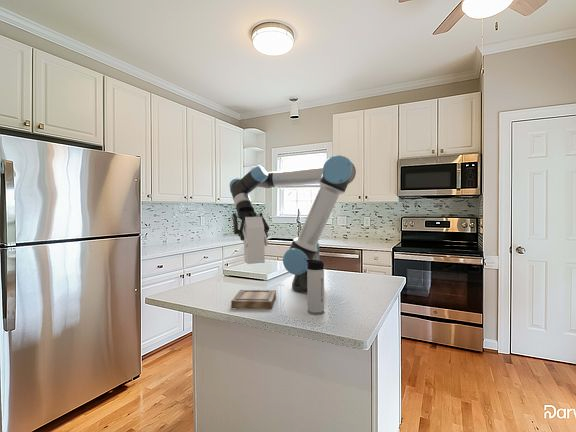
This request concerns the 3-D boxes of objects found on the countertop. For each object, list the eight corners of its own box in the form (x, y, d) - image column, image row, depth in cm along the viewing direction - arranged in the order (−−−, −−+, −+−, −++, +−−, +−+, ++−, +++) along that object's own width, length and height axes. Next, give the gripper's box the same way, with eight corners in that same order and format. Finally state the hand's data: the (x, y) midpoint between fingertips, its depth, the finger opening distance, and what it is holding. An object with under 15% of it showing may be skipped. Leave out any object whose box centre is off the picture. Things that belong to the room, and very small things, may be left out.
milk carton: (264, 263, 126) (264, 217, 126) (247, 264, 124) (246, 217, 123) (260, 260, 133) (260, 216, 132) (244, 261, 131) (243, 216, 130)
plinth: (275, 296, 136) (275, 289, 136) (271, 309, 120) (271, 300, 120) (240, 296, 137) (240, 289, 137) (231, 308, 121) (231, 300, 121)
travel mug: (305, 309, 119) (305, 258, 119) (322, 309, 120) (322, 258, 119) (307, 315, 113) (307, 261, 112) (325, 314, 114) (325, 261, 113)
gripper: (263, 210, 146) (277, 248, 132) (219, 211, 137) (230, 252, 123) (267, 199, 141) (282, 237, 127) (222, 199, 132) (233, 240, 118)
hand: (256, 245), depth 125 cm, fingers closed on milk carton, 8 cm apart
